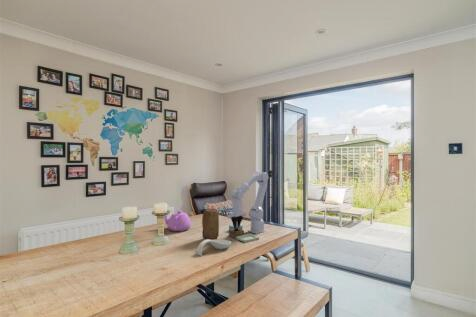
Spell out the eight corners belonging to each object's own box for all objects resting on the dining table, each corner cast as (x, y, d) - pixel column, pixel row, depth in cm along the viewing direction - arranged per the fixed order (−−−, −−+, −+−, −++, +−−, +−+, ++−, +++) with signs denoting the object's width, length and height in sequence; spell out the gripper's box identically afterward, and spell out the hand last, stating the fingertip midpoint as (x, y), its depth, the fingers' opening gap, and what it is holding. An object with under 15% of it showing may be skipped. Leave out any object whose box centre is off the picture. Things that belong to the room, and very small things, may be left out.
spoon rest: (221, 243, 169) (221, 232, 169) (234, 247, 161) (235, 236, 161) (191, 253, 151) (191, 240, 151) (205, 258, 144) (205, 245, 144)
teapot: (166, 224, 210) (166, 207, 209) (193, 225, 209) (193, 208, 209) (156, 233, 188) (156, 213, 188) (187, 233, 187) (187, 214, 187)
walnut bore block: (237, 233, 189) (237, 228, 189) (243, 236, 183) (244, 230, 183) (229, 235, 185) (229, 229, 185) (235, 238, 179) (235, 232, 179)
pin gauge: (236, 231, 186) (236, 219, 186) (238, 231, 184) (238, 220, 184) (233, 231, 184) (234, 220, 184) (236, 232, 183) (236, 220, 183)
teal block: (235, 229, 201) (235, 223, 201) (242, 231, 196) (242, 225, 196) (228, 230, 196) (229, 225, 196) (235, 233, 191) (235, 227, 191)
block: (219, 241, 173) (220, 210, 172) (210, 243, 167) (211, 211, 167) (209, 237, 180) (209, 207, 180) (200, 239, 175) (200, 209, 175)
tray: (250, 235, 185) (250, 233, 185) (258, 239, 178) (258, 237, 178) (235, 238, 178) (235, 236, 178) (244, 242, 170) (244, 240, 170)
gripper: (241, 205, 191) (241, 224, 192) (225, 207, 183) (224, 227, 183) (247, 207, 186) (247, 226, 186) (230, 209, 177) (230, 229, 177)
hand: (236, 227), depth 184 cm, fingers closed on pin gauge, 2 cm apart
